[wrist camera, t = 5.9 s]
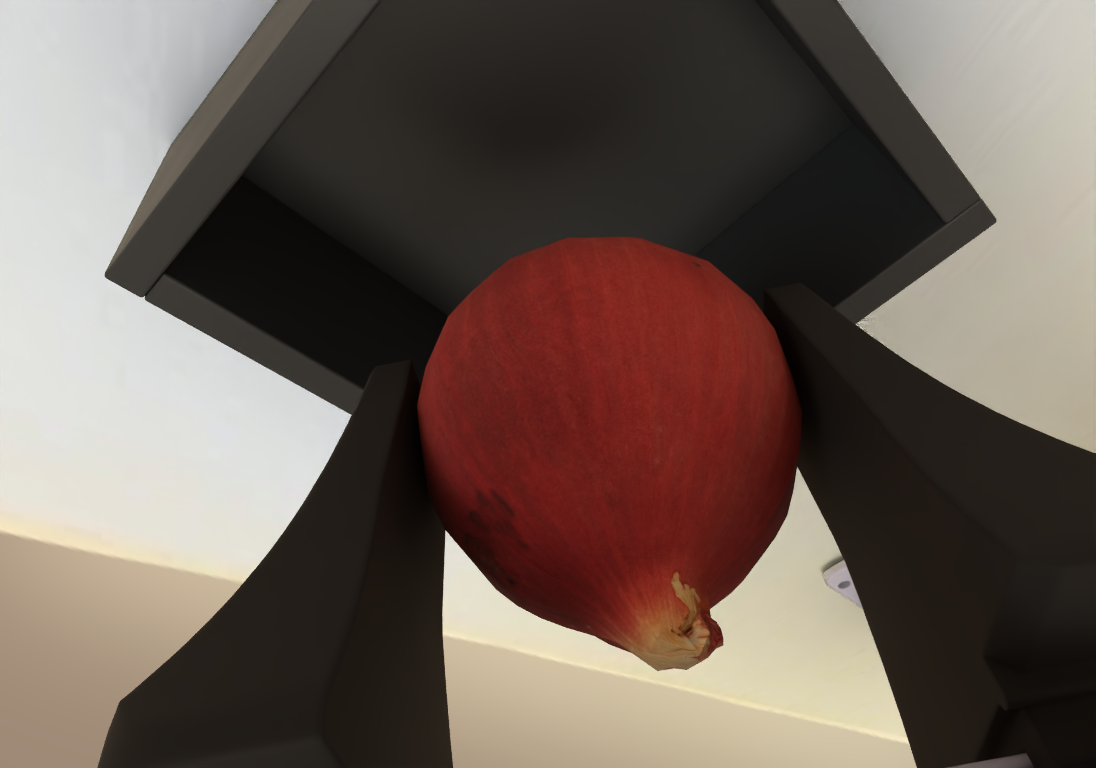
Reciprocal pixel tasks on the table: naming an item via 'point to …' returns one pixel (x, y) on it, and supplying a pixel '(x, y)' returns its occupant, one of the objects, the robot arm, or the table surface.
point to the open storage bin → (529, 167)
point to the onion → (612, 440)
